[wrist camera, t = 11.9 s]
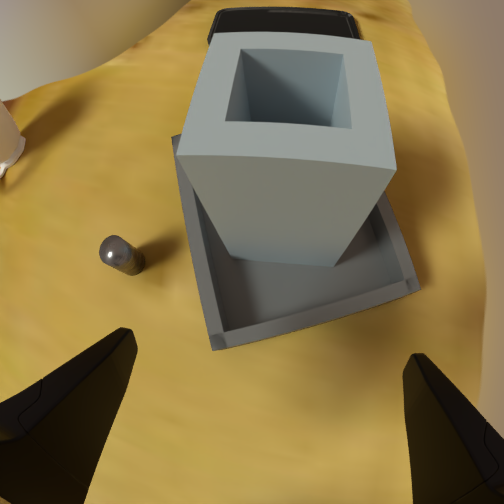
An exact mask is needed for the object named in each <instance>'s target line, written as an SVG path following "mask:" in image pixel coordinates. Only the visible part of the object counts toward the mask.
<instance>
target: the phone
mask: <svg viewBox="0 0 504 504" xmlns="http://www.w3.org/2000/svg"><path fill="white" fill-rule="evenodd" d="M229 32H288V33H306V34H318V35H328V36H337V37H345V38H352V39H359V40H360V37H359V34H358V30H357V27H356V24H355V21H354V18H353V16H352V15H351V14H350V13H347V12H344V11H337V10H327V9H316V8H300V7H240V8H226V9H222V10H219V11H218V12H217V13H216V15H215V18H214V21H213V24H212V27H211V29H210V32H209V35H208V38H207V40H208V44H209V46H210V43H211V40H212V38H213V35H214V33H229Z"/></svg>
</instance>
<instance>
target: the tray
mask: <svg viewBox="0 0 504 504" xmlns="http://www.w3.org/2000/svg"><path fill="white" fill-rule="evenodd" d="M181 135H182V134H179V135H176V136H173V137H171V138H172V145H173V152H174V159H175V165H176V172H177V178H178V184H179V190H180V196H181V202H182V208H183V213H184V219H185V225H186V230H187V235H188V241H189V246H190V251H191V256H192V261H193V266H194V271H195V276H196V281H197V286H198V290H199V295H200V300H201V304H202V309H203V313H204V318H205V322H206V326H207V331H208V335H209V339H210V343H211V347H212V351H216V350H223V349H227V348H232V347H236V346H240V345H244V344H248V343H253V342H257V341H261V340H264V339H268V338H272V337H276V336H280V335H284V334H287V333H291V332H295V331H298V330H302V329H305V328H309V327H312V326H316V325H319V324H322V323H326V322H329V321H332V320H336V319H339V318H342V317H345V316H348V315H352V314H355V313H358V312H361V311H364V310H367V309H370V308H373V307H376V306H379V305H382V304H385V303H388V302H390V301H393V300H396V299H399V298H402V297H404V296H407V295H409V294H411V293H414V292H416V291H419V290H421V288H420V284H419V281H418V278H417V275H416V272H415V269H414V266H413V263H412V260H411V257H410V255H409V252H408V249H407V246H406V243H405V241H404V238H403V235H402V233H401V230H400V228H399V225H398V222H397V220H396V217H395V215H394V213H393V210H392V208H391V205H390V203H389V201H388V198H387V196H386V194H385V191H384V192H383V193H382V195H381V196H380V198H379V200H378V201H377V203H376V204H375V206H374V207H373V209H372V210H371V212H370V214H369V215H368V217H367V218H366V220H365V221H364V223H363V224H362V226H361V227H360V229H359V230H358V232H357V233H356V235H355V236H354V238H353V239H352V241H351V242H350V244H349V245H348V247H347V248H346V250H345V251H344V252H343V254H342V255H341V257H340V258H339V260H338V261H337V263H336V264H335V265H334V267H328V266H315V265H302V264H290V263H277V262H265V261H253V260H240V259H232V258H231V256H230V254H229V252H228V251H227V249H226V247H225V245H224V243H223V241H222V240H221V238H220V236H219V234H218V232H217V231H216V229H215V227H214V225H213V223H212V221H211V220H210V218H209V216H208V214H207V212H206V210H205V208H204V207H203V205H202V203H201V201H200V199H199V197H198V196H197V194H196V192H195V190H194V188H193V186H192V184H191V183H190V181H189V179H188V177H187V175H186V173H185V171H184V169H183V168H182V166H181V164H180V162H179V160H178V158H177V156H176V153H177V149H178V146H179V142H180V138H181Z"/></svg>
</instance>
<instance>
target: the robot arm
mask: <svg viewBox="0 0 504 504" xmlns="http://www.w3.org/2000/svg"><path fill="white" fill-rule="evenodd" d="M137 351H138V347H137V343H136V340H135V337H134V333H133V331H132V330H131V329H128V328H123V327H120V328H118V329H117V330H115V331H114V332H112V333H110V334H109V335H107V336H106V337H104V338H103V339H101V340H100V341H98V342H97V343H95V344H94V345H92V346H91V347H89V348H88V349H86V350H84V351H83V352H81V353H80V354H78V355H77V356H75V357H74V358H72V359H71V360H69V361H68V362H66V363H65V364H63V365H62V366H60V367H59V368H57V369H56V370H54V371H53V372H51V373H50V374H48V375H46V376H45V377H43V379H40V380H39V381H37V382H36V383H34V384H33V385H31V386H30V387H28V388H26V389H25V390H23V391H21V392H20V393H18V394H16V395H14V396H12V397H11V398H9V399H7V400H5V401H3V402H1V403H0V504H84V501H85V498H86V496H87V493H88V490H89V489H88V488H89V486H90V483H91V481H92V478H93V475H94V472H95V469H96V467H97V464H98V461H99V458H100V456H101V453H102V450H103V448H104V445H105V442H106V440H107V437H108V435H109V432H110V429H111V427H112V424H113V422H114V419H115V417H116V414H117V412H118V409H119V407H120V404H121V402H122V400H123V397H124V395H125V392H126V389H127V386H128V383H129V379H130V376H131V372H132V369H133V365H134V362H135V359H136V355H137ZM403 392H404V414H405V424H406V431H407V439H408V448H409V457H410V467H411V479H412V494H413V504H504V439H503V438H502V437H501V436H500V435H499V434H498V433H497V432H496V430H495V429H494V428H493V427H492V426H491V425H490V424H489V423H488V422H486V419H485V418H484V417H483V416H482V415H481V414H480V413H479V412H478V410H477V409H476V408H475V407H474V406H473V405H472V404H471V403H470V401H469V400H468V399H467V398H466V397H465V396H464V395H463V394H462V393H461V392H460V391H459V390H458V388H457V387H456V386H455V385H454V384H453V383H452V382H451V381H450V380H449V379H448V378H447V377H446V376H445V375H444V374H443V373H442V371H441V370H440V369H439V368H438V367H437V366H436V365H435V364H434V363H433V362H432V361H431V360H430V359H429V358H428V357H427V356H426V355H425V354H423V353H414V354H412V355H411V356H410V358H409V360H408V362H407V364H406V366H405V368H404V371H403Z"/></svg>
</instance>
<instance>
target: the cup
mask: <svg viewBox="0 0 504 504" xmlns="http://www.w3.org/2000/svg"><path fill="white" fill-rule="evenodd" d="M25 141H26V139H25V138H24V137H23V136H21V135H20V131H19V129H18V127H17V125H16V123H15V121H14V119H13V118H12V116H11V115H10V113H9V112H8V110H7V109H6V107H5V106H4V104H3V103H2V101H1V100H0V167H1V170H0V178H1V177H2V176H3V175H4V173H5V171H6V169H7V168H9V167H11V166H12V165H14V164H15V163H16V161H17V160H18V158H19V157H20V155H21V154H22V152H23V151H24V146H25Z"/></svg>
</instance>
